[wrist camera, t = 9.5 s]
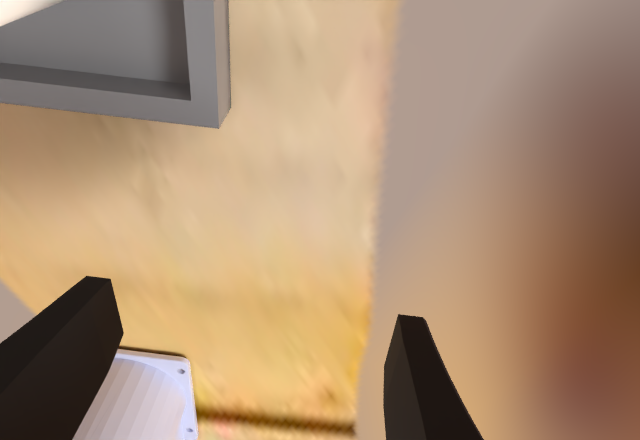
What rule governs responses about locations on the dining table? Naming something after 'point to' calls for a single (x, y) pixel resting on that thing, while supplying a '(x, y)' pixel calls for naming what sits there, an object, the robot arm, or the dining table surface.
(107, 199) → the dining table surface
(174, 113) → the gray tray
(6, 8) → the salt shaker
